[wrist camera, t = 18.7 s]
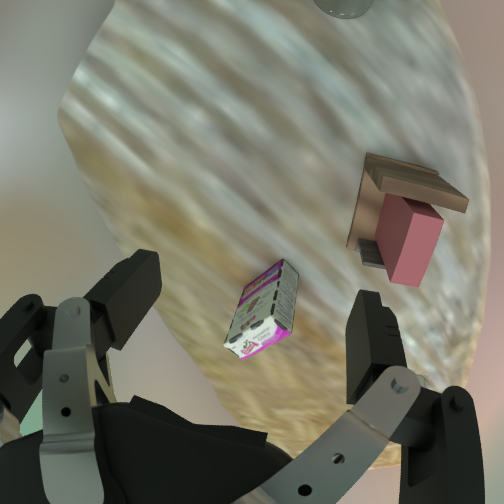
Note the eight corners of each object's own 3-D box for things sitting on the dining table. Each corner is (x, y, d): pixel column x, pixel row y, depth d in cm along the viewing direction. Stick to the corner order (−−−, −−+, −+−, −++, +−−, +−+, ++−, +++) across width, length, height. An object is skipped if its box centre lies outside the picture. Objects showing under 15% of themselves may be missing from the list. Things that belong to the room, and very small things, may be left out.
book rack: (366, 152, 42) (383, 171, 31) (436, 171, 40) (470, 196, 29) (346, 245, 50) (352, 288, 39) (410, 257, 49) (429, 300, 38)
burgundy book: (388, 180, 42) (413, 212, 30) (412, 186, 41) (444, 220, 29) (374, 235, 47) (390, 282, 35) (397, 240, 46) (418, 287, 35)
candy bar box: (261, 302, 61) (243, 362, 47) (243, 287, 60) (220, 345, 46) (301, 274, 55) (293, 335, 41) (283, 257, 54) (269, 315, 40)
